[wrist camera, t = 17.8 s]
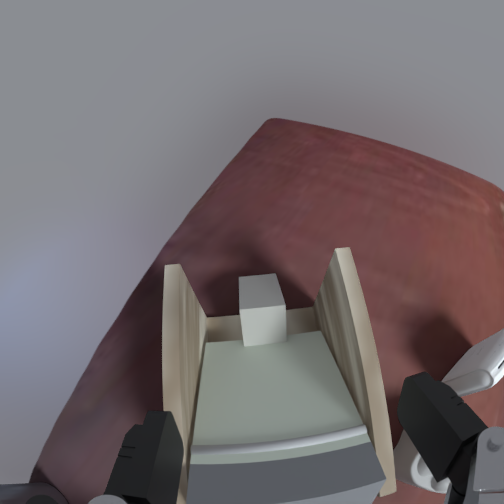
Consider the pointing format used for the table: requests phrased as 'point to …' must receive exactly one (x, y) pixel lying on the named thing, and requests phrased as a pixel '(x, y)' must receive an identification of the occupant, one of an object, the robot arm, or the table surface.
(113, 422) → the table surface
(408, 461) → the lumpy-topped squat cylinder
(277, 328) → the smooth white block
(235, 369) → the trapdoor
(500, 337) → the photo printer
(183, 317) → the storage box
